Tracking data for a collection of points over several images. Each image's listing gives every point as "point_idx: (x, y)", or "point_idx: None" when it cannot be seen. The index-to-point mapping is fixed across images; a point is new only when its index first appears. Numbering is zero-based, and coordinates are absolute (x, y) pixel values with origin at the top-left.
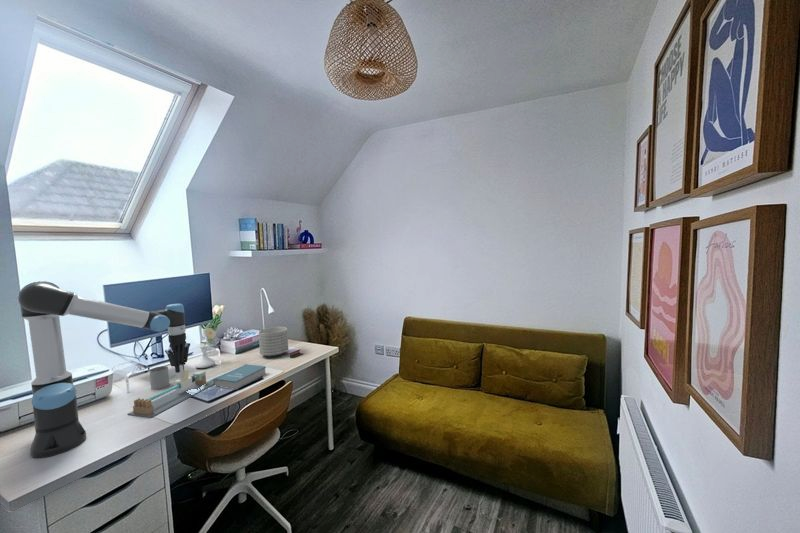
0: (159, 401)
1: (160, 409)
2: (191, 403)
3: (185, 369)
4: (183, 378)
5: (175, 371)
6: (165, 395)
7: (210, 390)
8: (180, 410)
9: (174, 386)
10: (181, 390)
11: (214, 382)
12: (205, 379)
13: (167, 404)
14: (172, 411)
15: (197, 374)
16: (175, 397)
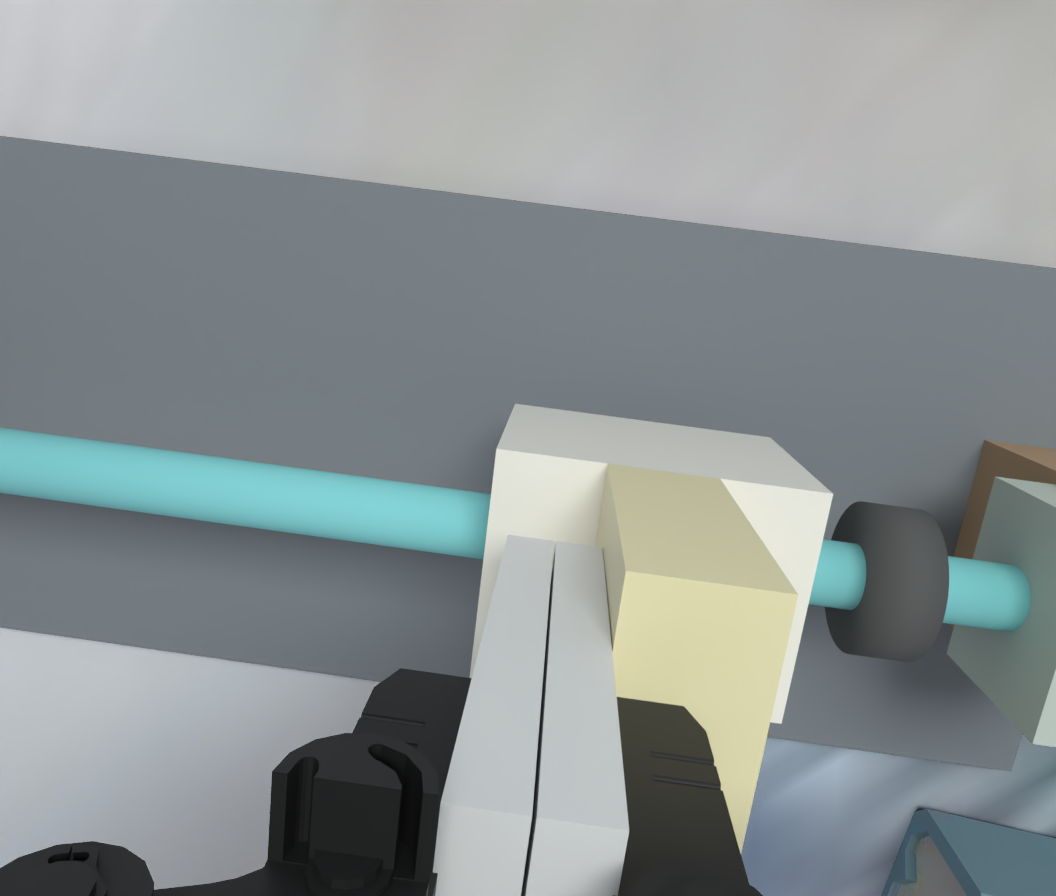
0: (233, 302)
1: (6, 564)
2: None
3: (734, 823)
4: None
5: (372, 696)
6: (465, 204)
7: (745, 843)
8: (92, 831)
9: (373, 527)
10: (700, 359)
11: (953, 865)
12: None
13: (164, 542)
14: (45, 744)
15: (1044, 676)
16: (406, 480)
